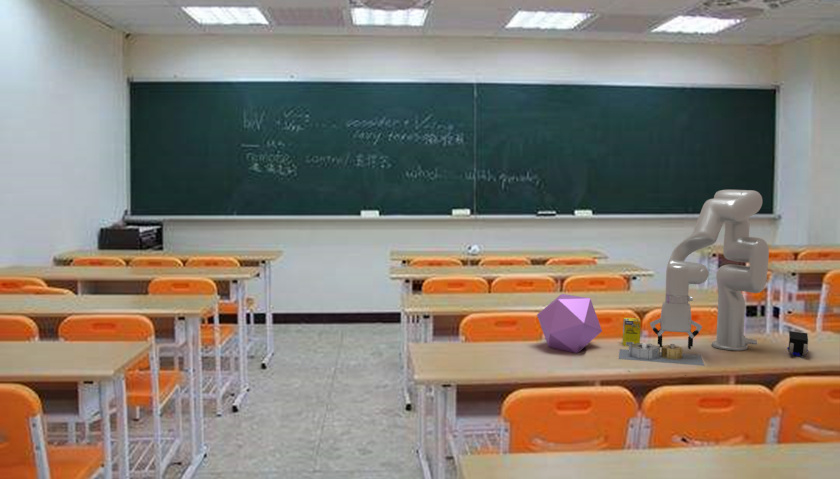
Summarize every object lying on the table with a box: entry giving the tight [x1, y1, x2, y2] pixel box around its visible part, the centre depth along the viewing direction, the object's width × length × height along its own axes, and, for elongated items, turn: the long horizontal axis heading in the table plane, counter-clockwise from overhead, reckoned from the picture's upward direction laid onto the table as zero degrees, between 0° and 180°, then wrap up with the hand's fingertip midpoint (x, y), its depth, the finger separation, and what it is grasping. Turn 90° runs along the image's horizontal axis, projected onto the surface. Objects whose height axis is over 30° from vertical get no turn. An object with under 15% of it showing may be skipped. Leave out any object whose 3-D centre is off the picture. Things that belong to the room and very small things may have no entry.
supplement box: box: [622, 317, 642, 347], centre depth 274 cm, size 6×6×11 cm
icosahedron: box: [536, 293, 603, 354], centre depth 272 cm, size 22×21×25 cm
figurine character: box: [787, 330, 809, 359], centre depth 266 cm, size 7×8×15 cm
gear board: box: [618, 342, 705, 367], centre depth 256 cm, size 28×15×6 cm, turn 73°
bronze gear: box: [660, 344, 684, 360], centre depth 256 cm, size 7×7×4 cm
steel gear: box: [628, 342, 661, 360], centre depth 257 cm, size 10×10×4 cm
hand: (674, 347), depth 256 cm, fingers open, 9 cm apart
